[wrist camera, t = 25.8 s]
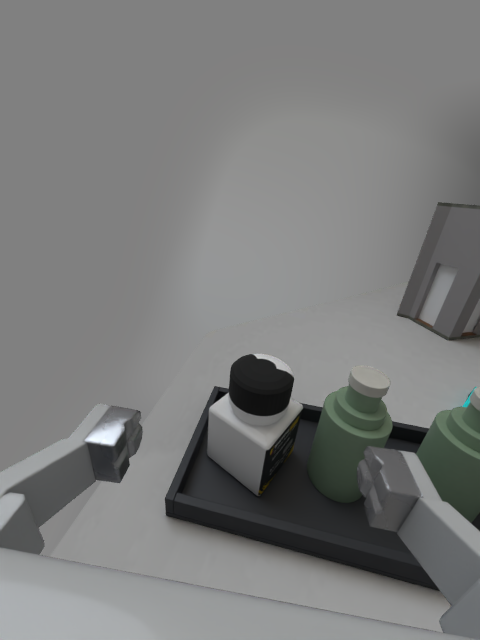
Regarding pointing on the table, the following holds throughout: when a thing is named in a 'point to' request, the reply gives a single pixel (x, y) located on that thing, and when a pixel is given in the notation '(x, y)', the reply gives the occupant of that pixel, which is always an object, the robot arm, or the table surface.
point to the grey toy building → (447, 275)
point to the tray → (293, 504)
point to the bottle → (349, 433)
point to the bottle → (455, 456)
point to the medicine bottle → (254, 421)
